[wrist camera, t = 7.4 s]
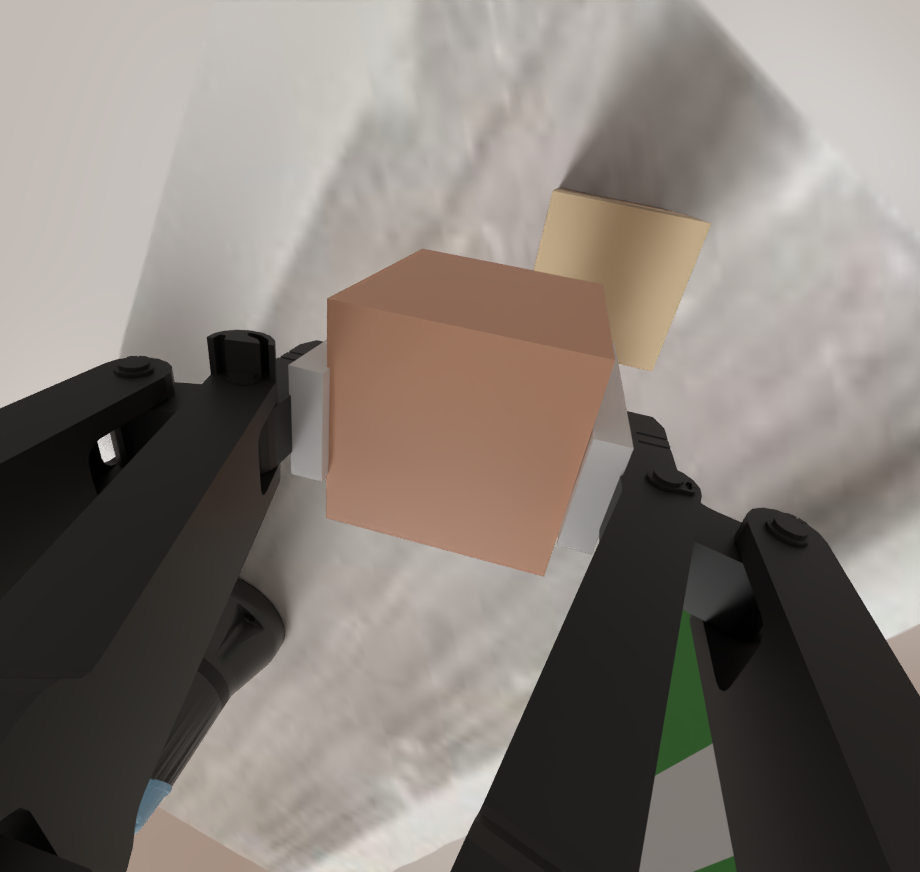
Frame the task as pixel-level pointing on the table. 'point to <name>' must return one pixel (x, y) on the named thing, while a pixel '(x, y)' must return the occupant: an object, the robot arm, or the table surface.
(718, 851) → the hardback book
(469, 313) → the terracotta block
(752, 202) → the table surface
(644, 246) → the oak middle block
